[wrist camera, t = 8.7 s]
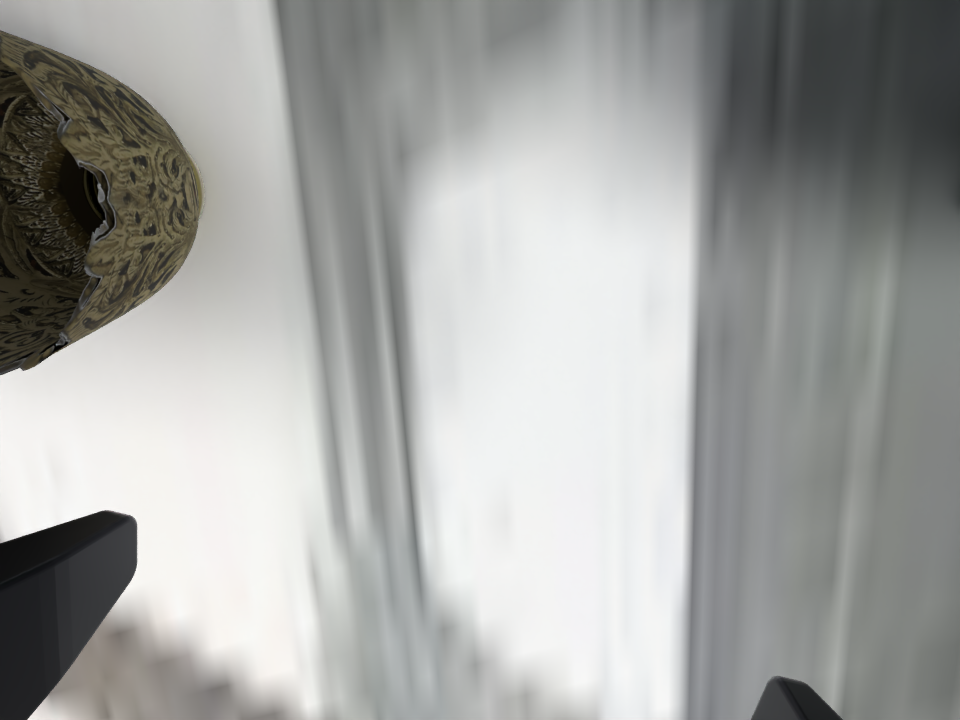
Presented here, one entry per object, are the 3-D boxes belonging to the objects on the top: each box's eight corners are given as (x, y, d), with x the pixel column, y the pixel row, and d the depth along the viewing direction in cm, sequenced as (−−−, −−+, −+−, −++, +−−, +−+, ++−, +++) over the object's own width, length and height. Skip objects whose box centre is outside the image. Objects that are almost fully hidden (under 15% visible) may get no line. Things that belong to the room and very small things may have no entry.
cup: (28, 60, 19) (-329, -6, 11) (256, 54, 18) (33, -22, 10) (79, 298, 21) (-189, 376, 14) (282, 303, 20) (116, 389, 13)
